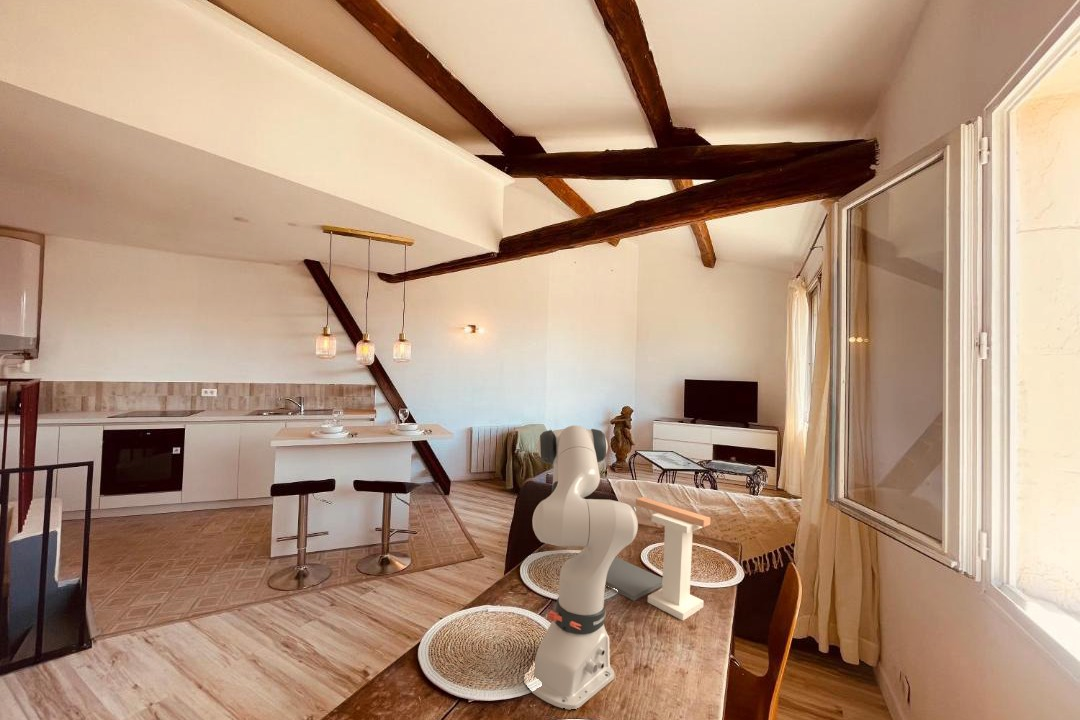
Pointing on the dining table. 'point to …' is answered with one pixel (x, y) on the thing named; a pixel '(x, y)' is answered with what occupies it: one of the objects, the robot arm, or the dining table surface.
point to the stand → (676, 569)
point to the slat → (674, 511)
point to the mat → (631, 579)
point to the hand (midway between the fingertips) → (626, 511)
